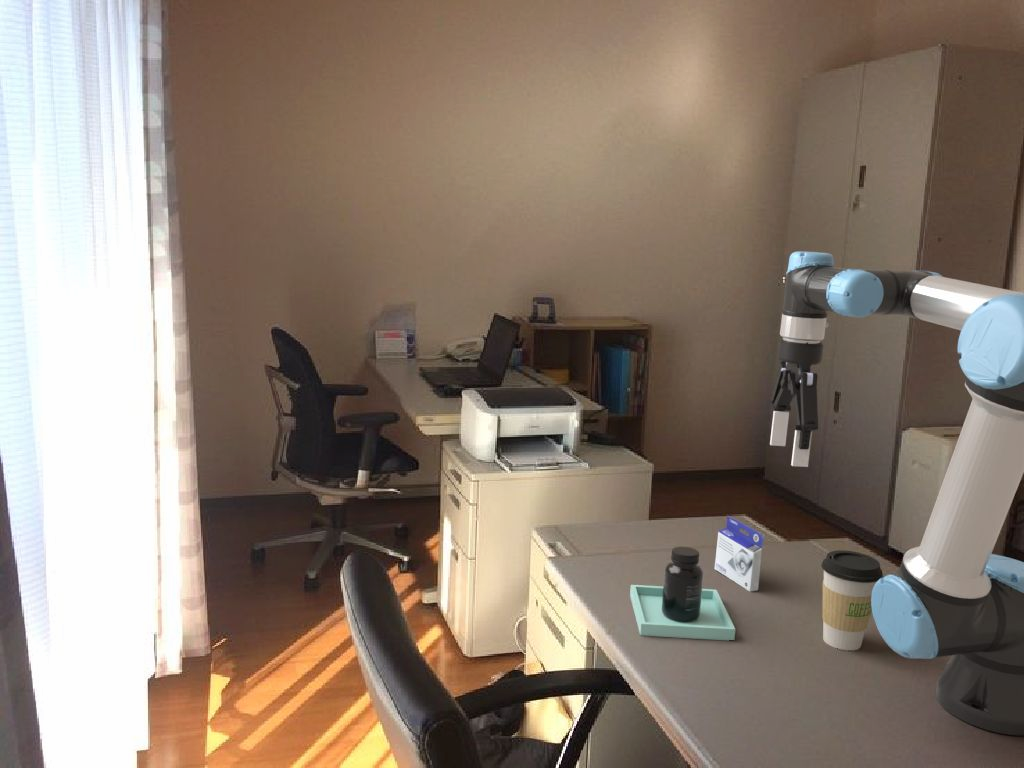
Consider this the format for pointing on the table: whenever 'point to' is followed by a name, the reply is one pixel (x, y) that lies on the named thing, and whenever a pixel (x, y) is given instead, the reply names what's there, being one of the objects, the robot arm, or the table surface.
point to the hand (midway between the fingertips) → (788, 455)
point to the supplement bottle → (682, 585)
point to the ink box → (739, 554)
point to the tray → (655, 623)
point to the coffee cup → (847, 597)
